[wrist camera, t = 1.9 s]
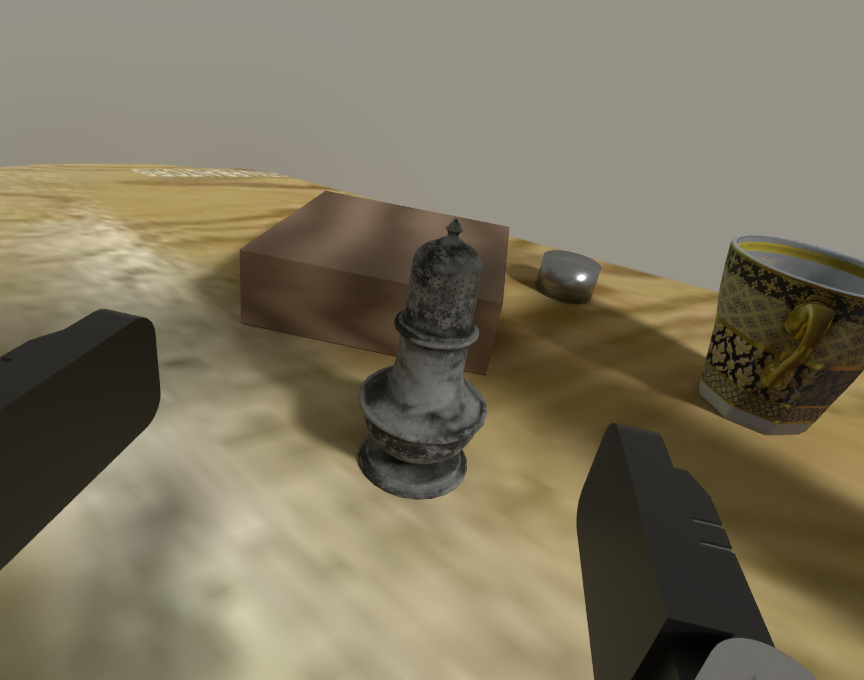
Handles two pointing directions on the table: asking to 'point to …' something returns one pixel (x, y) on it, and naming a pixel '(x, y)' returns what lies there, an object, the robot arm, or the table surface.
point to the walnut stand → (359, 272)
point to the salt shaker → (427, 378)
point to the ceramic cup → (784, 333)
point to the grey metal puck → (567, 276)
